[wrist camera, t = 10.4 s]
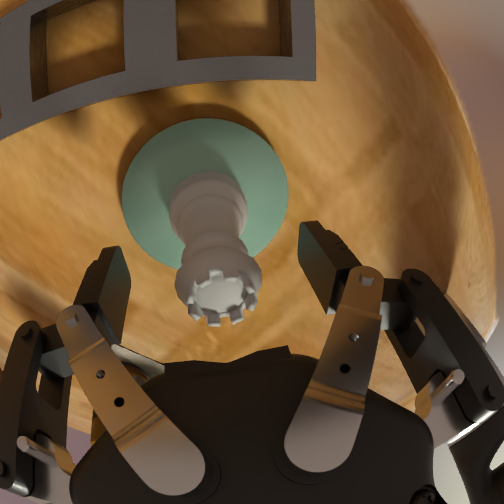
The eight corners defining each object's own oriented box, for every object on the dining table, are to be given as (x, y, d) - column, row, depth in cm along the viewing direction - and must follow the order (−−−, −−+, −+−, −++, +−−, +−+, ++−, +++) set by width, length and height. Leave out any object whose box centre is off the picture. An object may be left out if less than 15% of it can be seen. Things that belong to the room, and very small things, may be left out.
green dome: (285, 112, 14) (289, 114, 14) (282, 255, 20) (285, 261, 19) (110, 133, 13) (106, 135, 12) (144, 273, 19) (143, 281, 18)
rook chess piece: (253, 224, 17) (294, 320, 11) (186, 247, 17) (189, 353, 11) (232, 157, 14) (269, 227, 8) (157, 185, 14) (132, 276, 8)
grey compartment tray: (297, -32, 9) (310, -43, 7) (302, 81, 13) (316, 81, 12) (-45, 66, 5) (-61, 69, 4) (-35, 160, 10) (-51, 170, 8)
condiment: (86, 374, 25) (77, 471, 15) (114, 342, 22) (103, 465, 12) (140, 395, 28) (142, 485, 19) (177, 369, 26) (186, 479, 16)
